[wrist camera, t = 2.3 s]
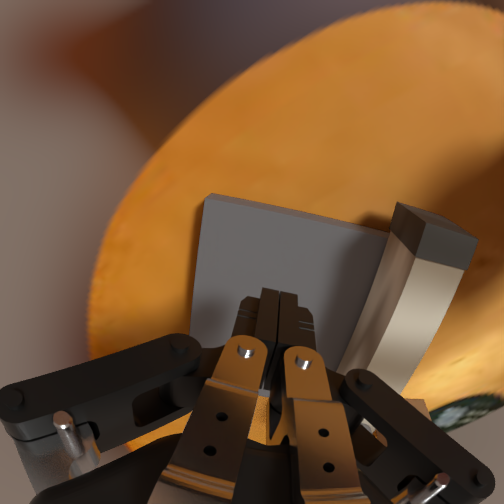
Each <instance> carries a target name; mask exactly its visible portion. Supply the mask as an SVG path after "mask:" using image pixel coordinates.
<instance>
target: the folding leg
mask: <svg viewBox="0 0 504 504" xmlns="http://www.w3.org/2000/svg"><path fill="white" fill-rule="evenodd" d="M389 229H390V230H391V231H390V235H389V238H388V241H387V244H386V247H385V250H384V253H383V256H382V259H381V262H380V265H379V268H378V271H377V274H376V276H375V279H374V282H373V285H372V287H371V290H370V293H369V295H368V298H367V301H366V303H365V306H364V308H363V311H362V313H361V316H360V318H359V321H358V323H357V326H356V328H355V330H354V333H353V335H352V337H351V340H350V342H349V344H348V347H347V349H346V351H345V353H344V356H343V358H342V360H341V362H340V364H339V367H338V369H337V371H336V372H337V373H339V374H342V375H345V376H346V374H347V372H348V371H350V370H352V369H358V368H359V369H365V370H368V371H371V372H372V373H374V374H375V375H377V376H378V377H379V378H380V379H381V380H383V381H384V382H385V383H386V384H387V385H389V386H390V387H391V388H392V389H393V390H395V391H396V392H397V393H398V394H399V395H400V393H401V392H402V390H403V389H404V387H405V386H406V384H407V383H408V381H409V379H410V378H411V376H412V374H413V373H414V371H415V369H416V368H417V366H418V364H419V363H420V361H421V359H422V357H423V356H424V354H425V352H426V350H427V349H428V347H429V345H430V343H431V341H432V339H433V337H434V335H435V334H436V332H437V330H438V328H439V326H440V324H441V322H442V320H443V318H444V316H445V314H446V311H447V309H448V307H449V305H450V303H451V301H452V299H453V296H454V294H455V292H456V289H457V287H458V285H459V282H460V280H461V278H462V275H463V273H464V270H468V267H469V265H470V262H471V260H472V257H473V254H474V251H475V249H476V246H477V243H478V240H479V239H477V238H476V237H474V236H473V235H471V234H470V233H468V232H467V231H465V230H464V229H462V228H461V227H459V226H458V225H456V224H455V223H453V222H451V221H450V220H448V219H447V218H445V217H443V216H441V215H438V214H435V213H432V212H429V211H425V210H422V209H419V208H416V207H413V206H409V205H406V204H403V203H399V202H397V203H396V206H395V210H394V213H393V217H392V220H391V224H390V227H389ZM361 424H362V425H363V426H364V427H365V428H366V429H367V430H368V431H369V432H370V433H371V434H372V433H373V432H374V431H375V428H374V427H373V426H372V425H371V424H370V423H369V422H368V421H367V420H366V419H365V418H364V420H363V421H362V423H361Z"/></svg>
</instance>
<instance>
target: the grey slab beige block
mask: <svg viewBox="0 0 504 504" xmlns="http://www.w3.org/2000/svg"><path fill="white" fill-rule="evenodd" d="M389 235H390V233H388V232H385V231H381V230H377V229H373V228H369V227H365V226H361V225H357V224H353V223H349V222H344V221H340V220H336V219H332V218H328V217H323V216H319V215H315V214H310V213H306V212H301V211H297V210H292V209H288V208H283V207H278V206H274V205H269V204H264V203H259V202H254V201H249V200H244V199H239V198H234V197H229V196H224V195H219V194H213V193H211V194H210V195H208V196H207V197H206V198H205V202H204V209H203V216H202V224H201V231H200V239H199V247H198V255H197V264H196V273H195V282H194V291H193V301H192V311H191V321H190V332H189V336H191V337H193V338H195V339H196V340H197V341H198V342H199V343H200V345H201V347H202V348H216V347H220V346H223V345H225V344H226V342H227V341H228V340H229V339H230V338H231V335H232V332H233V328H234V324H235V321H236V317H237V313H238V310H239V306H240V303H241V301H242V300H243V299H244V298H245V297H247V296H251V297H256V298H260V295H261V290H262V287H264V288H269V289H274V290H279V293H280V291H284V292H289V293H293V294H297V295H298V306H299V307H305V308H308V310H309V311H310V312H311V314H312V315H313V321H314V324H313V325H314V331H315V340H316V350H317V353H319V354H320V355H321V357H322V358H323V361H324V365H325V367H327V368H328V369H330V370H332V371H334V372H336V371H337V369H338V367H339V364H340V362H341V360H342V358H343V356H344V353H345V351H346V349H347V347H348V344H349V342H350V340H351V337H352V335H353V333H354V330H355V328H356V326H357V323H358V321H359V318H360V316H361V313H362V311H363V308H364V306H365V303H366V301H367V298H368V295H369V293H370V290H371V287H372V285H373V282H374V279H375V276H376V274H377V271H378V268H379V265H380V262H381V259H382V256H383V253H384V250H385V247H386V244H387V241H388V238H389ZM263 387H264V383H263V386H262V389H259V390H258V392H259V394H258V395H259V396H264V397H270V391H269V390H263ZM405 400H406V401H408V402H409V403H410V404H411V405H412V406H414V407H415V408H416V409H417V410H418V411H420V412H421V413H422V414H423V415H424V416H426V417H427V418H428V419H429V420H430V421H431V418H430V415H429V412H428V410H427V407H426V404H425V402H424V399H405ZM376 433H377V438H378V440H379V441H380V442H381V443H382V444H383V445H384V446H386V447H387V440H386V438H385V437H384V436H383V435H382V434H381V433H380V432H379V431H378V430H376Z"/></svg>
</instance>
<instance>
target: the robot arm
mask: <svg viewBox="0 0 504 504" xmlns="http://www.w3.org/2000/svg"><path fill="white" fill-rule="evenodd" d="M313 324H314V321H313V315H312V314H311V312H310V311H309V310H308V308H305V307H299V306H298V295H297V294H293V293H289V292H284V291H280V293H279V290H274V289H269V288H264V287H262V290H261V295H260V298H256V297H251V296H247V297H245V298H244V299H243V300H242V301H241V303H240V306H239V310H238V313H237V317H236V321H235V324H234V328H233V332H232V335H231V338H230V339H229V340H228V341H227V342H226V344H225V345H223V346H220V347H216V348H202V347H201V345H200V343H199V342H198V341H197V340H196V339H195V338H193V337H191V336H189V335H186V334H179V333H175V334H169V335H166V336H163V337H161V338H158V339H155V340H152V341H149V342H146V343H143V344H140V345H137V346H134V347H131V348H128V349H125V350H122V351H119V352H116V353H113V354H110V355H107V356H104V357H101V358H98V359H95V360H91V361H88V362H85V363H82V364H79V365H75V366H72V367H69V368H66V369H62V370H59V371H56V372H52V373H49V374H45V375H42V376H38V377H35V378H32V379H28V380H24V381H20V382H17V383H13V384H10V385H7V386H5V387H3V388H2V389H0V420H1V422H2V423H3V425H4V427H5V430H6V432H7V433H8V435H9V436H10V438H11V439H12V441H13V442H14V444H15V445H16V447H17V450H18V453H19V455H20V458H21V461H22V463H23V465H24V468H25V470H26V473H27V475H28V477H29V479H30V482H31V484H32V486H33V488H34V491H35V492H36V496H35V497H34V498H33V499H32V501H31V502H30V504H479V503H480V502H482V501H483V500H484V499H486V498H487V497H488V496H490V495H491V494H492V492H493V490H494V488H495V478H494V475H493V473H492V472H491V470H490V469H489V468H488V467H487V466H485V465H484V464H483V463H481V462H480V461H479V460H478V459H477V458H475V457H474V456H473V455H472V454H471V453H469V452H468V451H467V450H466V449H464V448H463V447H462V446H460V444H458V443H457V442H456V441H455V440H453V439H452V438H451V437H450V436H448V435H447V434H446V433H445V432H444V431H443V430H441V429H440V428H439V427H438V426H437V425H435V424H434V423H433V422H432V421H430V420H429V419H428V418H427V417H426V416H424V415H423V414H422V413H421V412H420V411H418V410H417V409H416V408H415V407H414V406H412V405H411V404H410V403H409V402H408V401H406V400H405V399H404V398H403V397H402V396H400V395H399V394H398V393H397V392H396V391H395V390H393V389H392V388H391V387H390V386H389V385H387V384H386V383H385V382H384V381H383V380H381V379H380V378H379V377H378V376H377V375H375V374H374V373H372V372H371V371H368V370H365V369H359V368H358V369H352V370H350V371H348V372H347V374H346V376H345V375H342V374H339V373H337V372H334V371H332V370H330V369H328V368H327V367H325V365H324V361H323V358H322V357H321V355H320V354H319V353H317V350H316V340H315V331H314V325H313ZM263 383H264V387H263V390H269V391H270V397H269V400H268V402H267V405H266V445H264V444H261V443H258V442H256V441H253V440H250V439H248V434H249V430H250V427H251V423H252V419H253V415H254V411H255V406H256V402H257V398H258V394H259V392H258V390H259V389H262V386H263ZM192 410H193V411H192ZM191 411H192V413H191V415H190V417H189V420H188V422H187V424H186V426H185V428H184V431H183V433H179V434H173V435H169V436H165V437H162V438H159V439H157V440H155V441H153V442H151V443H149V444H147V445H145V446H143V447H141V448H139V449H137V450H135V451H133V452H131V453H129V454H127V455H125V456H123V457H121V458H118V459H116V460H114V461H112V462H110V463H108V464H106V465H103V466H101V467H99V468H96V469H94V468H95V467H96V466H97V465H98V463H99V461H100V453H102V452H105V451H107V450H110V449H112V448H115V447H117V446H119V445H122V444H124V443H126V442H129V441H131V440H133V439H136V438H138V437H140V436H142V435H144V434H147V433H149V432H151V431H153V430H155V429H157V428H159V427H162V426H164V425H166V424H168V423H170V422H172V421H174V420H176V419H178V418H180V417H182V416H184V415H186V414H188V413H190V412H191ZM364 418H365V419H366V420H367V421H368V422H369V423H370V424H371V425H372V426H373V427H374V428H375V429H376V430H378V431H379V432H380V433H381V434H382V435H383V436H384V437H385V438H386V440H387V447H386V446H384V445H383V444H382V443H381V442H380V441H379V440H378V439H377V438H376V437H375V436H373V435H372V434H371V433H370V432H369V431H368V430H367V429H366V428H365V427H364V426H363V425H362V424H361V423H362V421H363V420H364ZM93 469H94V470H93Z"/></svg>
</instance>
